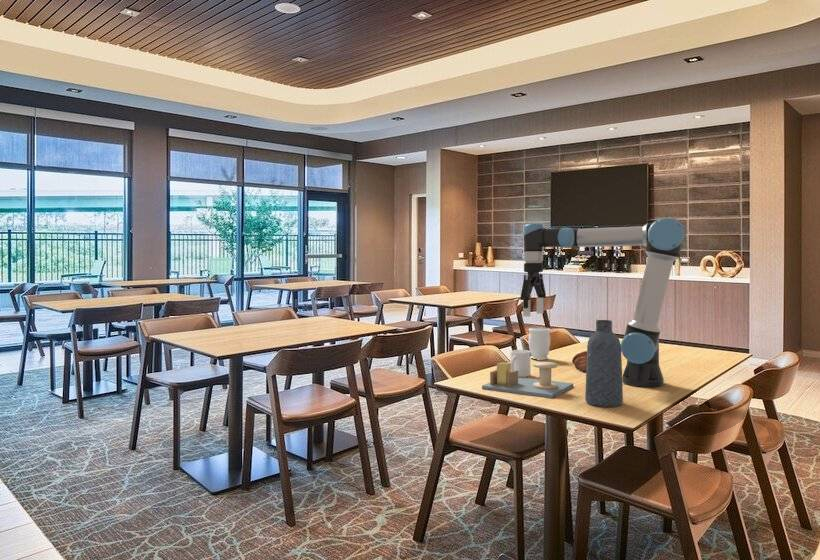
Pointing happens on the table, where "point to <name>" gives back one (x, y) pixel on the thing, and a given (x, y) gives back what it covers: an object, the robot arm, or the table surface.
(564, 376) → the table surface
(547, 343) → the jar
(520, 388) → the board
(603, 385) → the vase
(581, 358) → the pastry
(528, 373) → the mug
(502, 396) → the table surface
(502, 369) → the beige upright block
